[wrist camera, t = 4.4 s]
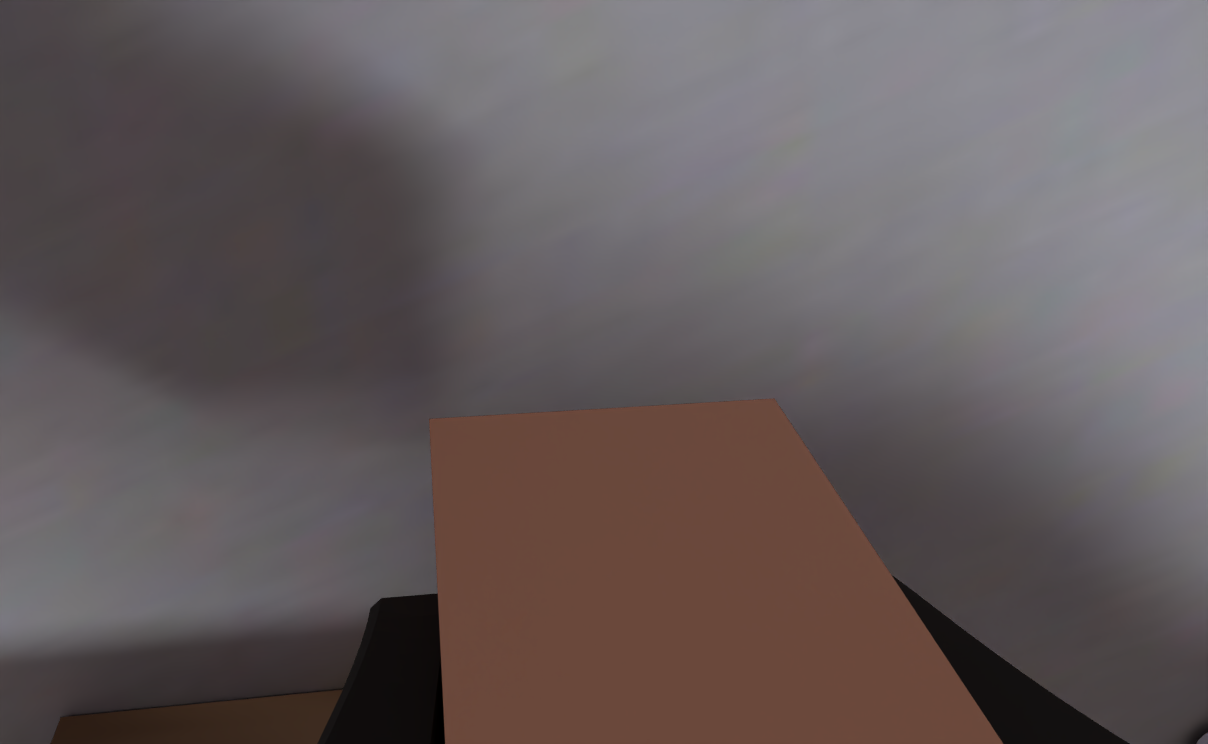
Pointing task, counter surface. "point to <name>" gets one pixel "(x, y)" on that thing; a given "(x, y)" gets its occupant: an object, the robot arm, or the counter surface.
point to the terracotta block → (670, 588)
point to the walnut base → (208, 722)
